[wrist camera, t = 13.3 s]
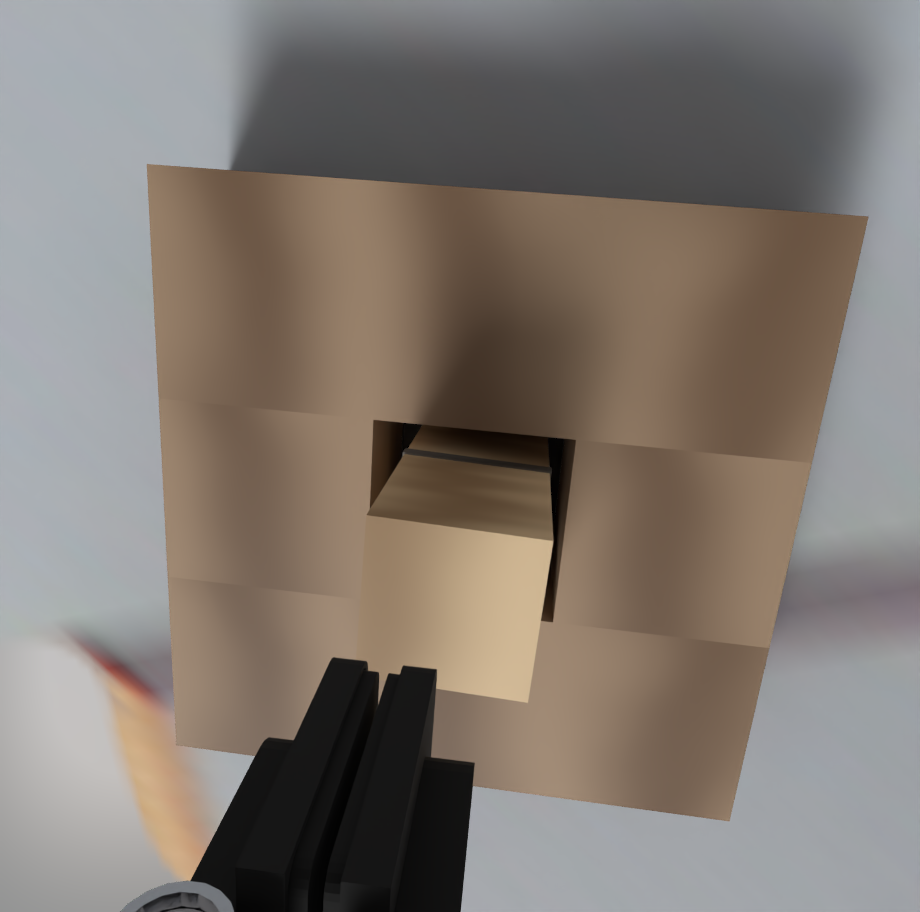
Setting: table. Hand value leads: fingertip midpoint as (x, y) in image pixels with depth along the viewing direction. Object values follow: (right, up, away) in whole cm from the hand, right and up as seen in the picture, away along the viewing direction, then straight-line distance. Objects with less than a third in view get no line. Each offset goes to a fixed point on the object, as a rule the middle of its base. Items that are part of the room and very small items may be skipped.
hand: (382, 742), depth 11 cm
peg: (+2, +4, +14) cm, 15 cm away
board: (+2, +4, +14) cm, 15 cm away
